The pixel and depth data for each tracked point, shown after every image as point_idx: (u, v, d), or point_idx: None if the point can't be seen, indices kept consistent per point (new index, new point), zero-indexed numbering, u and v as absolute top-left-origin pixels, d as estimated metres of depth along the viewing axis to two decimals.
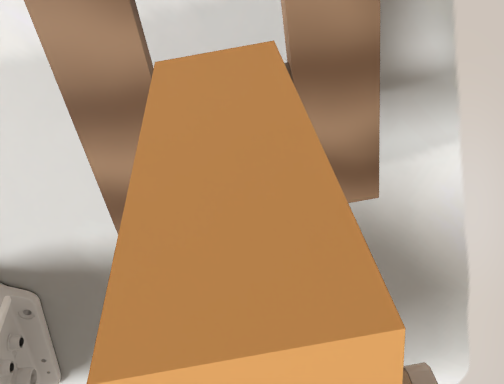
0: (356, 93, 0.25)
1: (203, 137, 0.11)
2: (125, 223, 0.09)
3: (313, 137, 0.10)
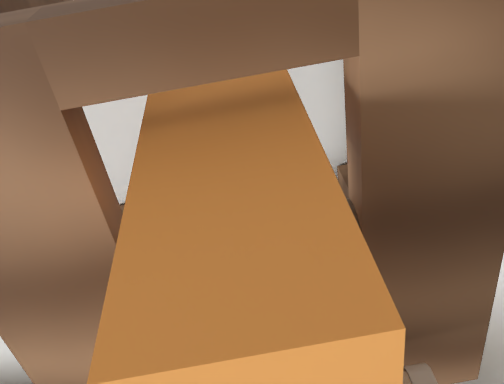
0: (466, 252, 0.15)
1: (203, 137, 0.11)
2: (125, 223, 0.09)
3: (313, 137, 0.10)
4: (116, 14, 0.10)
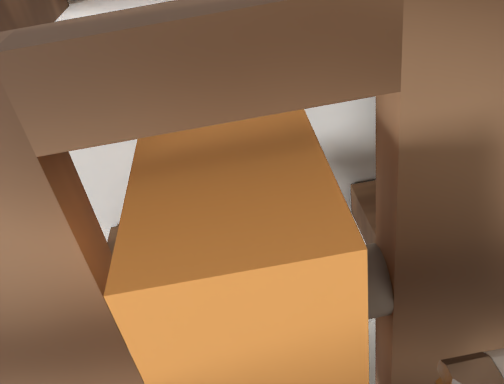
0: None
1: None
2: (133, 179, 0.10)
3: None
4: (102, 44, 0.08)
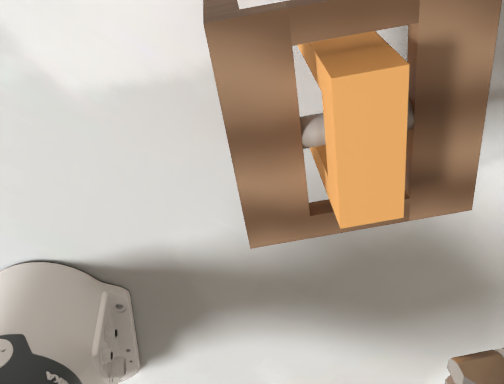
0: (464, 124, 0.30)
1: None
2: (320, 56, 0.27)
3: (377, 34, 0.28)
4: (323, 5, 0.25)
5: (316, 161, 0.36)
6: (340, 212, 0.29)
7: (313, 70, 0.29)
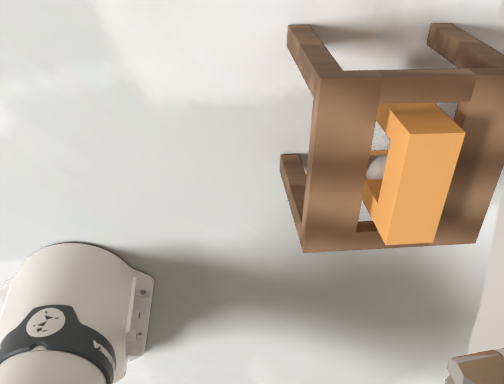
0: (484, 178, 0.39)
1: None
2: (395, 114, 0.36)
3: (434, 103, 0.37)
4: (408, 79, 0.34)
5: None
6: (389, 232, 0.38)
7: (381, 121, 0.38)
